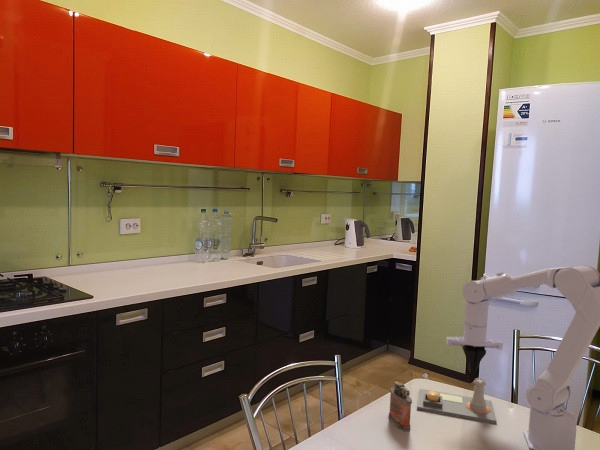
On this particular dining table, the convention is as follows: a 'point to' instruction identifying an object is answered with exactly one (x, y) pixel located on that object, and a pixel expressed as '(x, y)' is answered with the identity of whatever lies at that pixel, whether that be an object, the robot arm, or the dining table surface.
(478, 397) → the rook chess piece
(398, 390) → the lighter
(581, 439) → the dining table surface
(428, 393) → the button
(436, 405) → the grey board
